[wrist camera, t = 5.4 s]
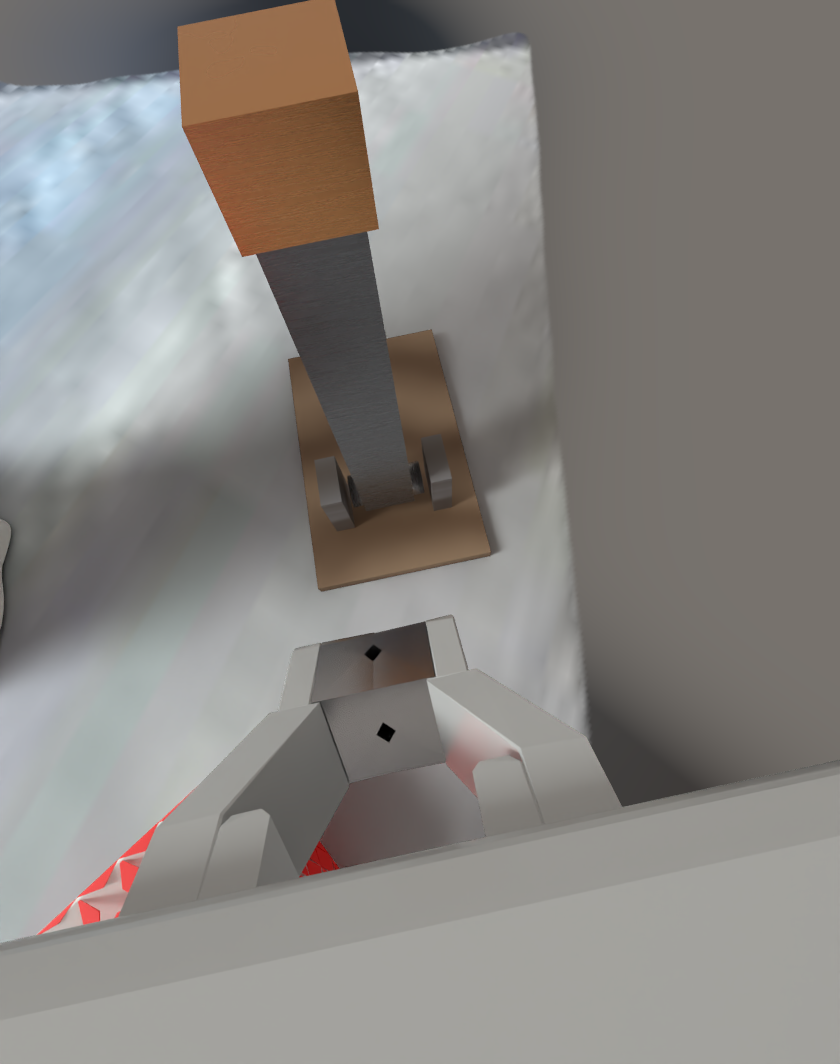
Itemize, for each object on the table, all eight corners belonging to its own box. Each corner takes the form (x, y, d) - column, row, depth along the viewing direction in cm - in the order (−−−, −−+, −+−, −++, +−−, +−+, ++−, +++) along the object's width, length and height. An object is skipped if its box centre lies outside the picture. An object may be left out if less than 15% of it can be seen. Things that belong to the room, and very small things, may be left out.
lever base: (490, 555, 31) (496, 528, 27) (321, 591, 31) (298, 570, 26) (431, 337, 38) (429, 283, 33) (291, 366, 37) (268, 316, 33)
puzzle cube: (265, 765, 28) (198, 785, 21) (354, 887, 26) (314, 959, 18) (148, 876, 26) (30, 940, 19) (231, 1016, 24) (133, 1151, 17)
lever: (427, 509, 30) (377, 87, 10) (358, 523, 30) (162, 130, 10) (416, 459, 32) (350, -8, 11) (350, 473, 32) (160, 30, 11)
